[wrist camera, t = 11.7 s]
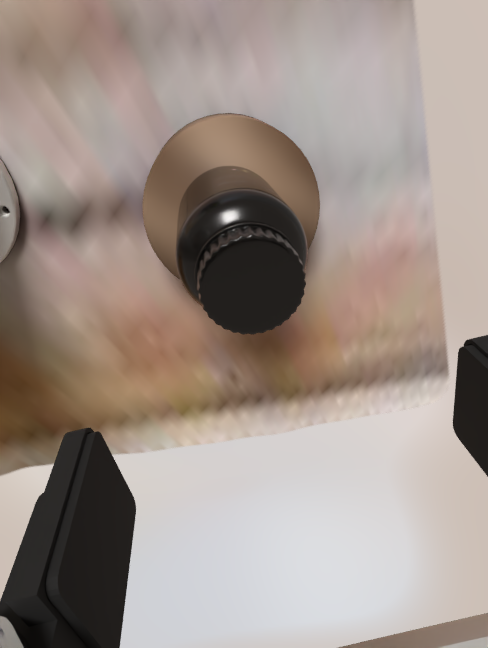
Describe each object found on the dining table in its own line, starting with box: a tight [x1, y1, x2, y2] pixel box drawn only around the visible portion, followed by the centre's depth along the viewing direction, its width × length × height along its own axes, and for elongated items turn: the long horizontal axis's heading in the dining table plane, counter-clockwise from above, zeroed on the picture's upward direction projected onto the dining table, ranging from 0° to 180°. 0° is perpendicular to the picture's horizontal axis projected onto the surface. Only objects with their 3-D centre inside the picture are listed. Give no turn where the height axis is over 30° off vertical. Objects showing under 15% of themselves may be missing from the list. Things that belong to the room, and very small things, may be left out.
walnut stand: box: [143, 113, 320, 279], centre depth 30 cm, size 12×12×4 cm
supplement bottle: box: [176, 166, 308, 334], centre depth 23 cm, size 7×7×12 cm
